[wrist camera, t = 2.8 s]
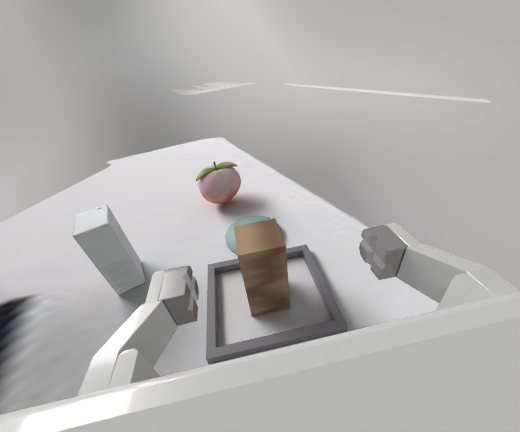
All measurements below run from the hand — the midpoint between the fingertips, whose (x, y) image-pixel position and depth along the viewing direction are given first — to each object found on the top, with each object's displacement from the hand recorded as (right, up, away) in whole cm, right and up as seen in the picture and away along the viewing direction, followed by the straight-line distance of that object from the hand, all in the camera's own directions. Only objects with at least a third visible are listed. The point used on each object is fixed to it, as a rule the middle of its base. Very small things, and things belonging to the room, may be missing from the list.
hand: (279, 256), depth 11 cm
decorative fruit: (-9, +5, +43) cm, 44 cm away
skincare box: (-22, -8, +27) cm, 36 cm away
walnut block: (0, -9, +21) cm, 23 cm away
